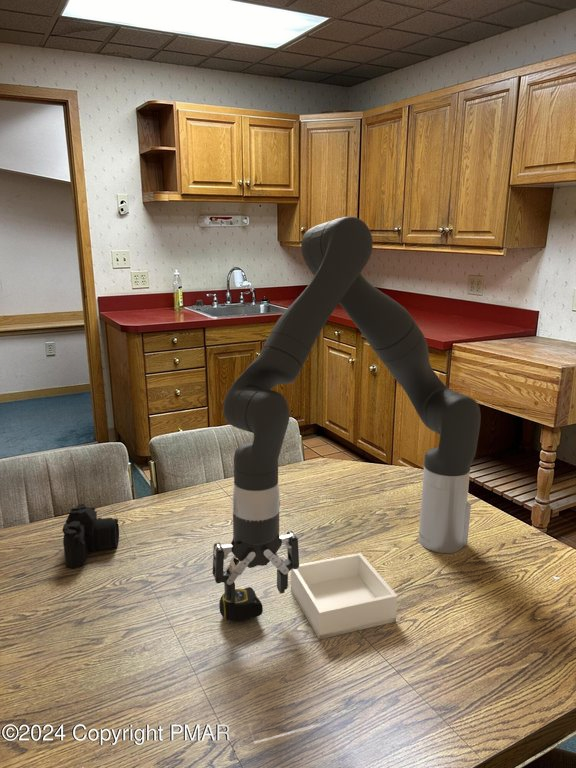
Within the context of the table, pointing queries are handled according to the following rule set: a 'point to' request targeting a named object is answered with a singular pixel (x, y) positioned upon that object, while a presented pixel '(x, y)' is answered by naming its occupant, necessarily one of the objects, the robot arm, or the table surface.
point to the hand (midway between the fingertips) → (256, 595)
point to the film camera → (87, 535)
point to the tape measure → (241, 606)
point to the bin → (343, 595)
